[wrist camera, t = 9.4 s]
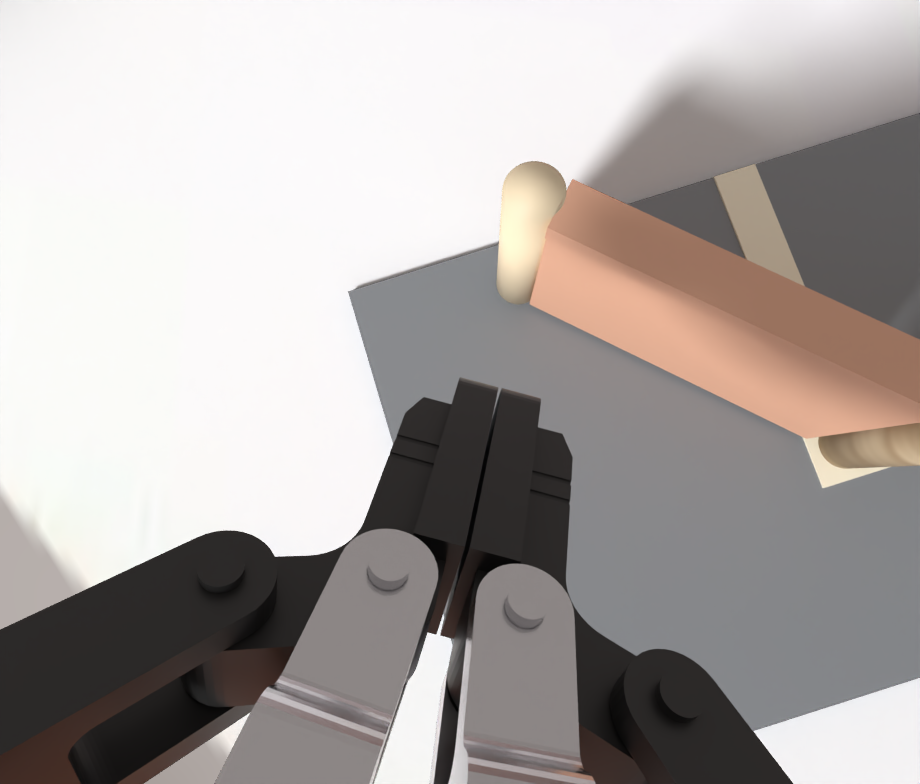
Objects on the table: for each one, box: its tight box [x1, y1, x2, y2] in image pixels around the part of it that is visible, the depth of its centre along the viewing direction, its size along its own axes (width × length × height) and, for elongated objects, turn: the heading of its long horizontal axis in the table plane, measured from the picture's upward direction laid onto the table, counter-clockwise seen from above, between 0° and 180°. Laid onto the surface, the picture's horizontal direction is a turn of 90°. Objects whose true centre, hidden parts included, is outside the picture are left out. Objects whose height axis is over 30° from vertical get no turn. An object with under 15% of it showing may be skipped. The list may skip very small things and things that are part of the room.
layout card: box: [348, 113, 920, 731], centre depth 26 cm, size 21×28×1 cm
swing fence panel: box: [496, 161, 920, 439], centre depth 22 cm, size 2×14×8 cm, turn 63°
